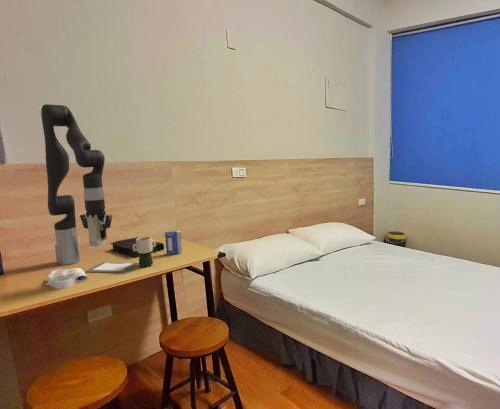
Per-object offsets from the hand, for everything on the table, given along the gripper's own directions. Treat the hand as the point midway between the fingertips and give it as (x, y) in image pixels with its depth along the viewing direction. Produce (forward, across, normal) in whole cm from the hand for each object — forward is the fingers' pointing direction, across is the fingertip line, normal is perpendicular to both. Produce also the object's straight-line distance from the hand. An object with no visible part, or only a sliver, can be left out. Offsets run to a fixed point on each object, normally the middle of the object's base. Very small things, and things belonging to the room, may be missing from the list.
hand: (98, 238), depth 138 cm
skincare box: (+3, 0, 0) cm, 3 cm away
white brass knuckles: (+17, -12, -7) cm, 22 cm away
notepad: (+17, -1, +10) cm, 19 cm away
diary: (+18, -5, +38) cm, 42 cm away
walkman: (+17, +19, +33) cm, 42 cm away
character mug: (+17, +13, +14) cm, 26 cm away
